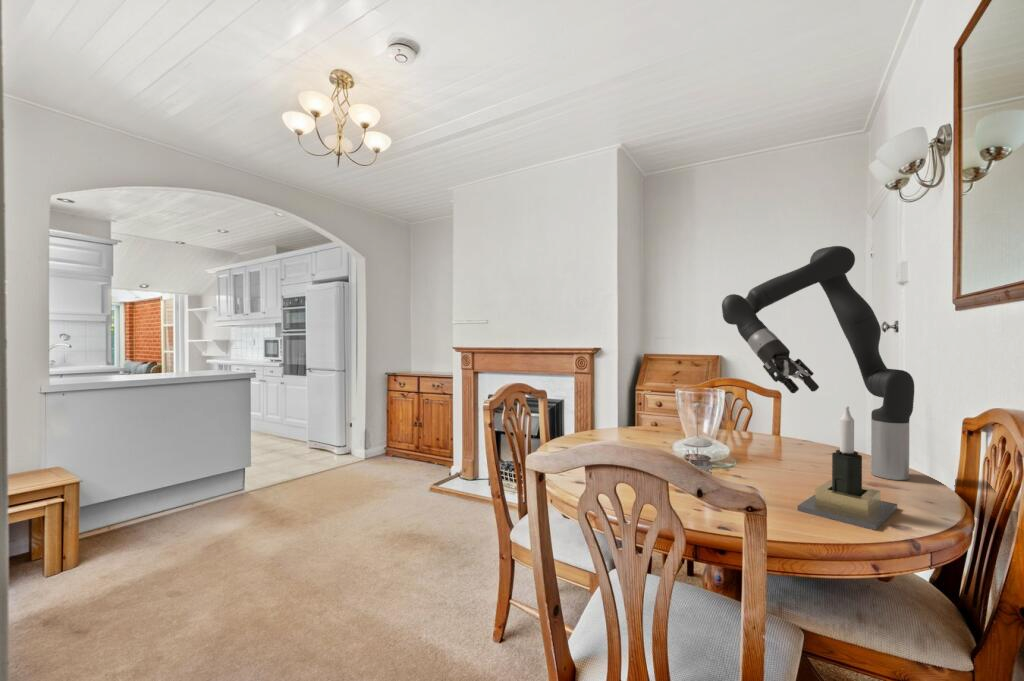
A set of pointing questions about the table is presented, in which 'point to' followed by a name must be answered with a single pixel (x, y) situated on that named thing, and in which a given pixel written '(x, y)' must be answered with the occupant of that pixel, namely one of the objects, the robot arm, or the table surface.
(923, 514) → the table surface
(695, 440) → the french press
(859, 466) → the candle
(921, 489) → the table surface
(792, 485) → the table surface
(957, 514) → the table surface
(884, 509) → the candle plate
